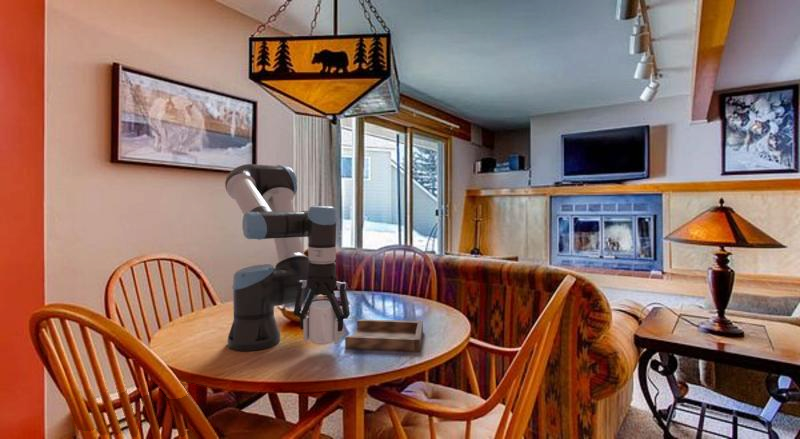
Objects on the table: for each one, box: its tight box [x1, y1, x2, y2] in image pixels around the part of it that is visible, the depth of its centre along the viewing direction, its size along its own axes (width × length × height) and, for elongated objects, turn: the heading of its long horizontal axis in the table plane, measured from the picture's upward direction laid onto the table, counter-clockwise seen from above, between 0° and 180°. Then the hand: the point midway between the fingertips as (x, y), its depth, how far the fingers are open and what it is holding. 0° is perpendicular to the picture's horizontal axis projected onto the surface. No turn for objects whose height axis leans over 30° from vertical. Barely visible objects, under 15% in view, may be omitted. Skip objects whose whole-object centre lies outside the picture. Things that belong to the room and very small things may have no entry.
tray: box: [344, 318, 424, 353], centre depth 126 cm, size 22×18×4 cm
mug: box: [308, 300, 337, 345], centre depth 113 cm, size 12×8×10 cm
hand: (321, 341), depth 113 cm, fingers closed on mug, 8 cm apart
